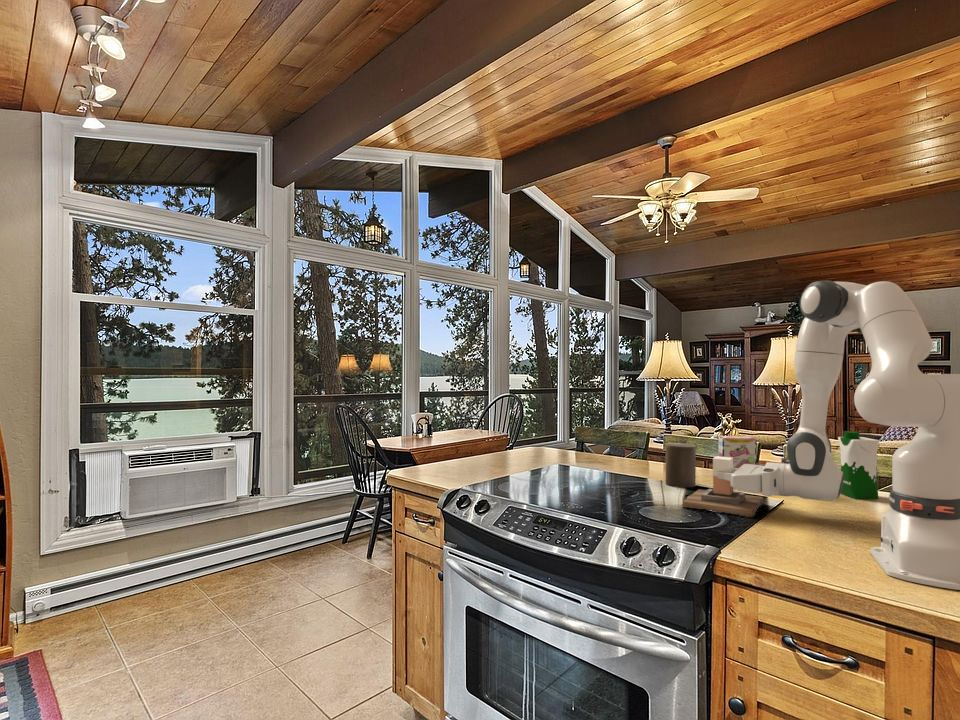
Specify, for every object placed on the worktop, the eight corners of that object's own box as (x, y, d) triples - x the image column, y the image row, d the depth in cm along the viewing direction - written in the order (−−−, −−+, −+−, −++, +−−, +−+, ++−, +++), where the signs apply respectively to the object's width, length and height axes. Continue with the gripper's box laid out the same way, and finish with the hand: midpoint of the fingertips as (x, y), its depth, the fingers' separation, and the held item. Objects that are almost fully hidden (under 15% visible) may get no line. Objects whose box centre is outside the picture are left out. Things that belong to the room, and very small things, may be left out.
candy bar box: (722, 486, 183) (722, 437, 183) (717, 483, 188) (717, 435, 188) (757, 486, 181) (757, 438, 182) (751, 483, 186) (751, 436, 187)
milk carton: (835, 492, 172) (834, 430, 173) (864, 492, 172) (863, 430, 172) (853, 499, 164) (853, 433, 164) (884, 499, 163) (883, 433, 164)
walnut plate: (752, 518, 145) (752, 505, 145) (682, 508, 155) (682, 495, 155) (762, 503, 159) (762, 492, 159) (698, 495, 170) (698, 484, 170)
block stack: (730, 495, 154) (729, 459, 154) (713, 492, 157) (712, 458, 157) (733, 491, 158) (732, 457, 158) (716, 489, 161) (716, 456, 161)
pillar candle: (672, 487, 181) (672, 442, 181) (661, 481, 190) (661, 438, 190) (700, 487, 181) (701, 443, 181) (688, 481, 191) (688, 438, 191)
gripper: (778, 461, 158) (727, 457, 166) (767, 473, 142) (711, 467, 150) (778, 483, 158) (727, 477, 166) (768, 497, 142) (711, 490, 150)
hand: (719, 473), depth 158 cm, fingers closed on block stack, 4 cm apart
